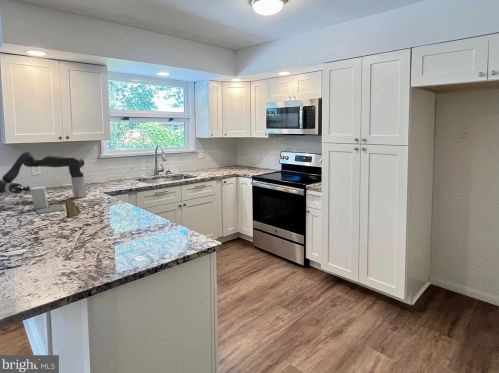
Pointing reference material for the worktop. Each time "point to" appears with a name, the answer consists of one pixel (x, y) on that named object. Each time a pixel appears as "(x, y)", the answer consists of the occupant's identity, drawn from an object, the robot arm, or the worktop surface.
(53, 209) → the mat
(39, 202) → the skincare box
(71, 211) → the rock
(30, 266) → the worktop surface
